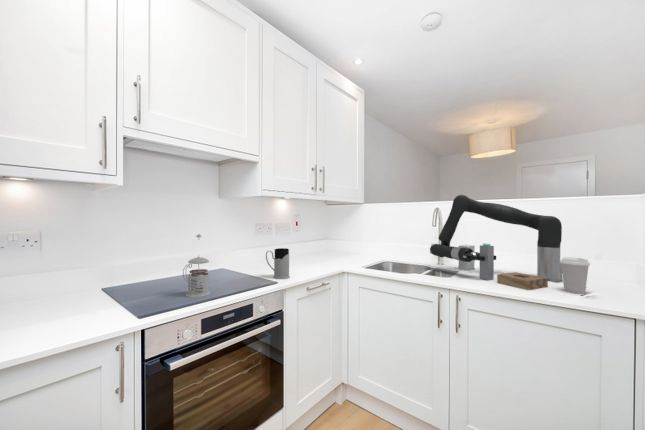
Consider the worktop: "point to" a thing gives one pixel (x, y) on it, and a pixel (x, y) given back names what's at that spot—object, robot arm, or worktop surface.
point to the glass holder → (280, 263)
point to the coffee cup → (575, 274)
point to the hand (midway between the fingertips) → (490, 258)
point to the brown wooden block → (522, 280)
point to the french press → (197, 278)
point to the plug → (487, 262)
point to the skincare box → (467, 265)
